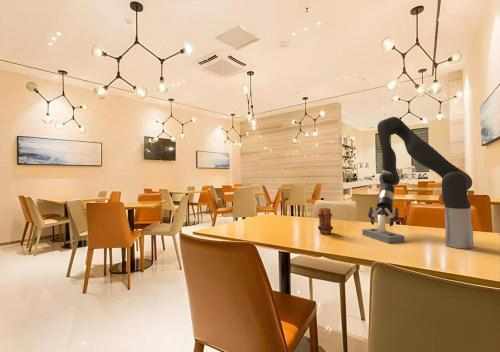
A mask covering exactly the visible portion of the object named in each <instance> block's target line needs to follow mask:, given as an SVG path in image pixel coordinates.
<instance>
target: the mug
mask: <svg viewBox="0 0 500 352" xmlns="http://www.w3.org/2000/svg"><path fill="white" fill-rule="evenodd" d="M317 216H318V224H319V225H318V226H317V229H318V230H319V233H320V234H322V235H323V234H325V235H327V234H329V235H330V234H332V231H333V229H334V227H333V226H332V219H331V218H332V216H333V214H332V212H331V209H330V208H327V207H321V208H319V209H318V213H317Z"/></svg>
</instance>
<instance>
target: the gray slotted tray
mask: <svg viewBox="0 0 500 352" xmlns="http://www.w3.org/2000/svg"><path fill="white" fill-rule="evenodd" d="M361 230H362V231H361V233H362V234H361V235H362V236H365V237H368V238H370V239H374V240H377V241H380V242H383V243H387V244H398V243H405V242H406V241H405V240H406V239H405V235H402V234H401V233H400V234H399V233H395V232H391V231H388V230H386V233H378V227H377V228H366V229H365V228H364V229H361Z"/></svg>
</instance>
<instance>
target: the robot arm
mask: <svg viewBox="0 0 500 352" xmlns="http://www.w3.org/2000/svg"><path fill="white" fill-rule="evenodd" d="M376 127H377V129H376V130H377V135H378V139H379V140H378V141H379V145H380V150H381V156H382V157H381V161H382V162H381V165H382V166H381V167H382V170H384V171H385V172H383V173H381V174H380V175H379V179H378V180H379V184H380V190H379V195H378V198H377V203H376V207H375V208H374V207H372V206H370V207H369V210H368V214H367V216H368V218H369V219H370V224H371V226H372V225H373V226H374V225H375V221H376V219H378V215H380V209H383V215H385V218H386V217H388V218H389V227H393V226H394V224H395V221H399V218H400V217H399V214H400V212H399V208H397V207H396V208H393V205H394V201H395V200H394V199H395V198H394V197H395V186H398V185H399V183H400V180H401V179H400V175H399V173H398V169H397V155H396V152H395V151H394V149H393V147H392V146H391V142H390V141H391V139H390V137H391V136H392V135H396V136H398V137H399V138H400V139H401V140H402V141H403V143H404V147H405V150H406V152H407V154H408V155H409V156H410V157H411V158H413V159H414V160H415V161H416V162H417V163H418V164H419V165H422V166H423V167H425V168H427V169H429V170H430V171H432V172H434V173H435V174H437V175H438V176H439V177H440V178H442V179H441V194H442V195H441V199H442V202H443V204H444V226H445V227H444V228H445V230H444V231H445V232H444V233H445V246H446V247H449V248H454V249H464V250H465V249H466V250H467V249H472V248H473V247H474V226H473V225H472V210H471V209H472V208H471V202H470V200H469V198H468V190H470V189H471V188H472V186H473V180H472V177H471V176H470V175H469V174H468V173H467V172H465V171H463V170H462V169H460V168H458V167H457V166H456V165H454V164H453V163H452V162H450V161H448V160H447V159H446V157H444V156H443V155H442V154H441V153H440V152H439V151H437V150H436V149H435V148H434V147H433V146H431V145H430V144H429V143H427V142H426V140H424V139H422V138H421V137H420V136H419V135H418V134H417V133H415V132H414V131H413V130H412V129H411V128H410V127H409V126H408V125H406V123H404V122H403V120H402V119H401V118H399V117H396V116H391V117H388V118H384V119H382V120H380V121H379V122H378V124H377V126H376ZM392 213H394V215H395V216H394V215H393V214H392Z"/></svg>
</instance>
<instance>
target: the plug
mask: <svg viewBox="0 0 500 352" xmlns="http://www.w3.org/2000/svg"><path fill="white" fill-rule="evenodd" d="M377 229H378V233H386V231H387V227H386V217H385V215H383V209H380V215H378V217H377Z"/></svg>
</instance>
